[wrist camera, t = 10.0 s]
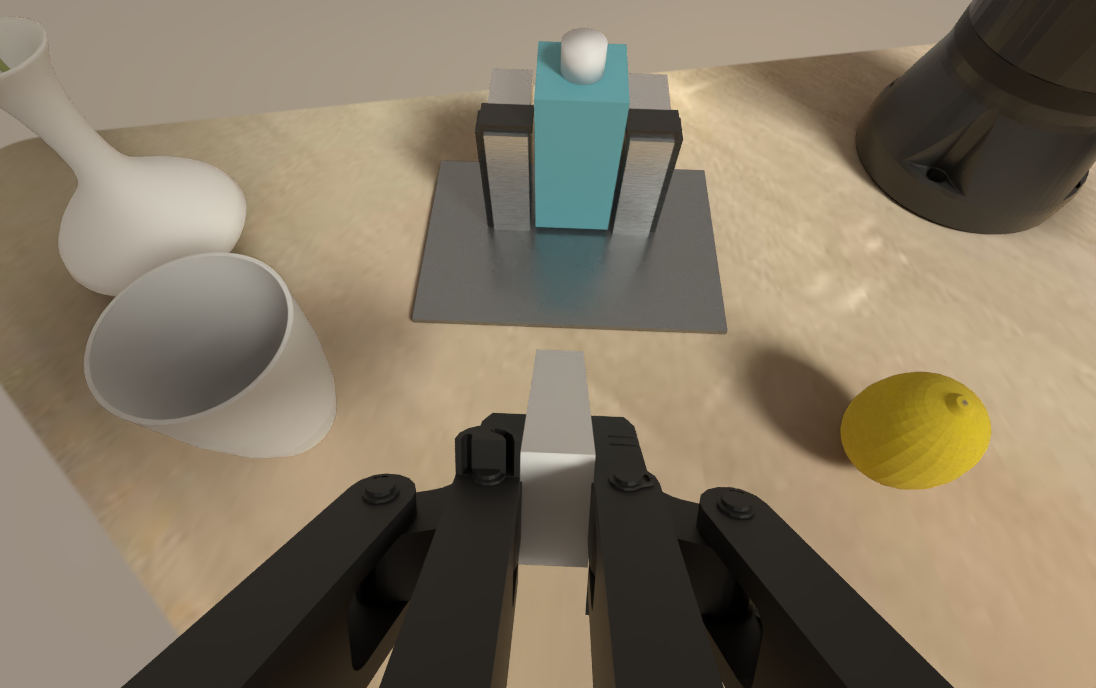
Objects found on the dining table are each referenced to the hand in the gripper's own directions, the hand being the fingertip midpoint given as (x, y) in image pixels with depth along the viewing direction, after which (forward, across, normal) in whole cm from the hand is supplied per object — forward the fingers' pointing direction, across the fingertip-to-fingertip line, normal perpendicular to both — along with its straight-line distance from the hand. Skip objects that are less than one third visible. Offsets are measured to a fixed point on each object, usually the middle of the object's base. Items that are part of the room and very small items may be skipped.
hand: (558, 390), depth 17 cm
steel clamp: (+21, +1, +2) cm, 21 cm away
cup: (+12, -15, -7) cm, 21 cm away
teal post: (+24, +1, +5) cm, 24 cm away
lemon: (+11, +18, -8) cm, 23 cm away
